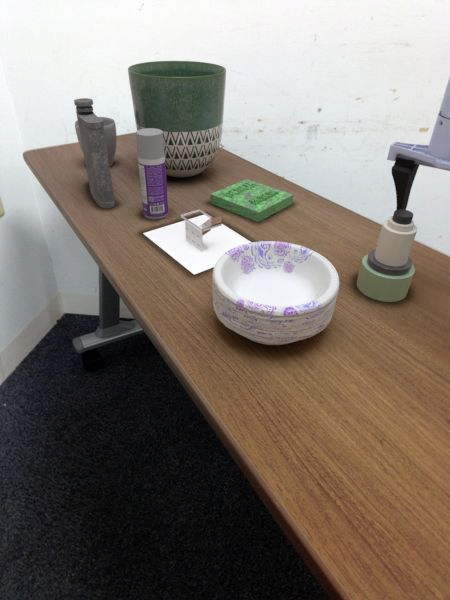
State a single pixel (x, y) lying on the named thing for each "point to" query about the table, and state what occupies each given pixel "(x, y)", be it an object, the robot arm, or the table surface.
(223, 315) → the paper bowls
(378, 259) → the small bottle
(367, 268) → the green jar
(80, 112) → the flask
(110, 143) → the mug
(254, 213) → the green jade tablet
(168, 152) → the planter
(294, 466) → the table surface
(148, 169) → the container
